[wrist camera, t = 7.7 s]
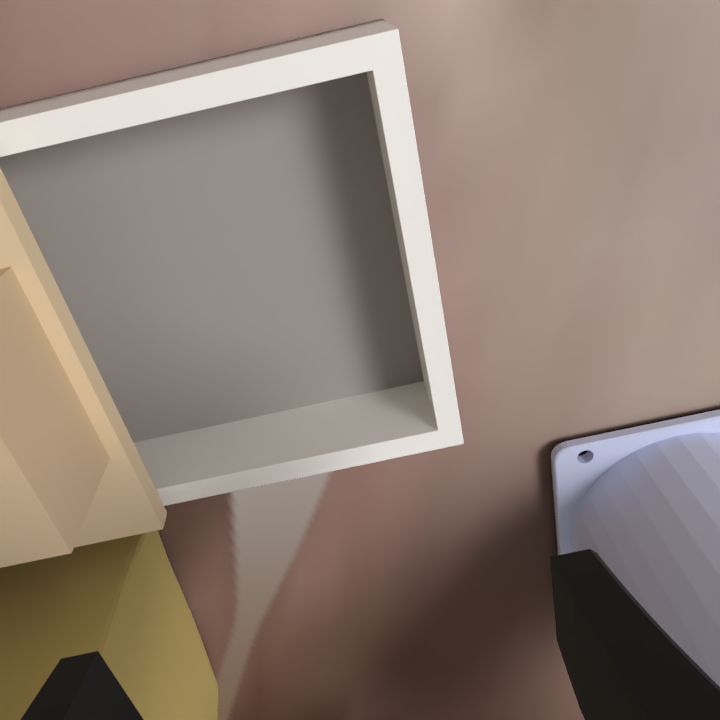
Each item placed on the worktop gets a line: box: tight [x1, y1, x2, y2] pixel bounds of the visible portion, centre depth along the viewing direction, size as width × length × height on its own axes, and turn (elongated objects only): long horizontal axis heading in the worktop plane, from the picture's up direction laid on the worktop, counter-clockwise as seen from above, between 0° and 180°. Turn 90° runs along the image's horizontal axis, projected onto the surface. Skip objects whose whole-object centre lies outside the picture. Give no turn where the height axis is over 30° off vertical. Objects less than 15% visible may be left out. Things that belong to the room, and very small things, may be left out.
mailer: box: [0, 19, 464, 506], centre depth 17 cm, size 13×10×3 cm
